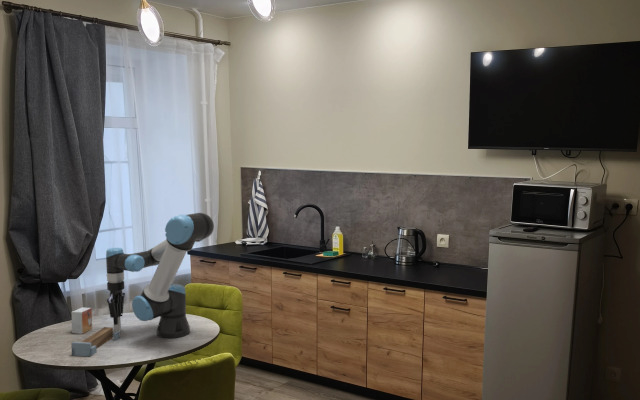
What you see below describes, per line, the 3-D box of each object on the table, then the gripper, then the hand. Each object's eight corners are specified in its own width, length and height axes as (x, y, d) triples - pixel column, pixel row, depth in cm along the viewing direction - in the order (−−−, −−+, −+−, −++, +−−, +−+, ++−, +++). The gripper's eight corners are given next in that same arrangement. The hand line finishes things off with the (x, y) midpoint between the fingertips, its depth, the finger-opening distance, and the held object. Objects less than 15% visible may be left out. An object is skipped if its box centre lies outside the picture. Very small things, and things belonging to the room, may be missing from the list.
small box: (82, 334, 262) (81, 312, 261) (71, 333, 263) (70, 311, 262) (92, 329, 270) (91, 307, 269) (82, 328, 271) (81, 307, 270)
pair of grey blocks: (119, 337, 257) (119, 331, 257) (115, 340, 254) (115, 333, 253) (102, 336, 258) (102, 330, 258) (98, 339, 255) (98, 332, 255)
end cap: (96, 352, 238) (96, 339, 237) (90, 356, 233) (89, 343, 233) (78, 351, 239) (77, 338, 239) (71, 355, 235) (71, 342, 234)
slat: (113, 338, 257) (112, 327, 257) (87, 355, 235) (87, 343, 235) (104, 337, 258) (104, 327, 257) (78, 354, 236) (78, 343, 235)
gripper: (115, 277, 268) (116, 326, 270) (100, 284, 255) (102, 334, 257) (129, 278, 267) (131, 326, 269) (116, 284, 254) (118, 335, 256)
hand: (117, 330), depth 263 cm, fingers closed
